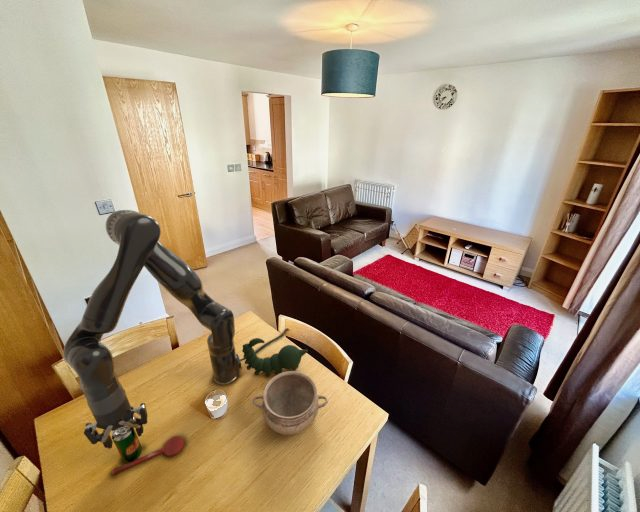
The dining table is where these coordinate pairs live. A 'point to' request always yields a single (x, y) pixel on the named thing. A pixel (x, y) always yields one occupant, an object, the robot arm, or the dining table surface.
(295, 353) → the toy figurine
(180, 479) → the dining table surface
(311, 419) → the cooking pot
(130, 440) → the soda can
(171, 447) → the spoon
